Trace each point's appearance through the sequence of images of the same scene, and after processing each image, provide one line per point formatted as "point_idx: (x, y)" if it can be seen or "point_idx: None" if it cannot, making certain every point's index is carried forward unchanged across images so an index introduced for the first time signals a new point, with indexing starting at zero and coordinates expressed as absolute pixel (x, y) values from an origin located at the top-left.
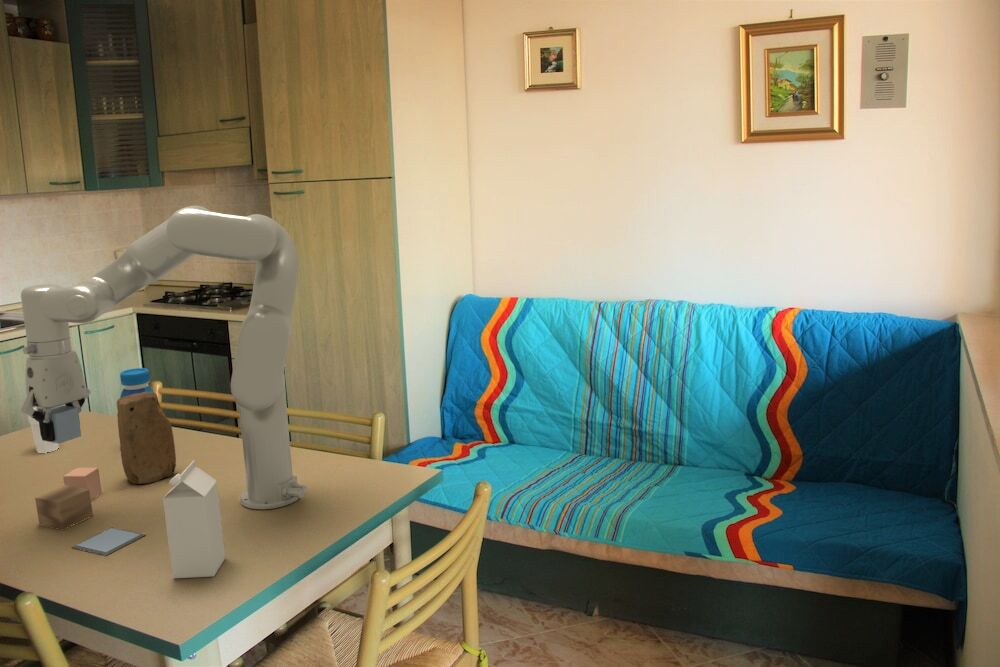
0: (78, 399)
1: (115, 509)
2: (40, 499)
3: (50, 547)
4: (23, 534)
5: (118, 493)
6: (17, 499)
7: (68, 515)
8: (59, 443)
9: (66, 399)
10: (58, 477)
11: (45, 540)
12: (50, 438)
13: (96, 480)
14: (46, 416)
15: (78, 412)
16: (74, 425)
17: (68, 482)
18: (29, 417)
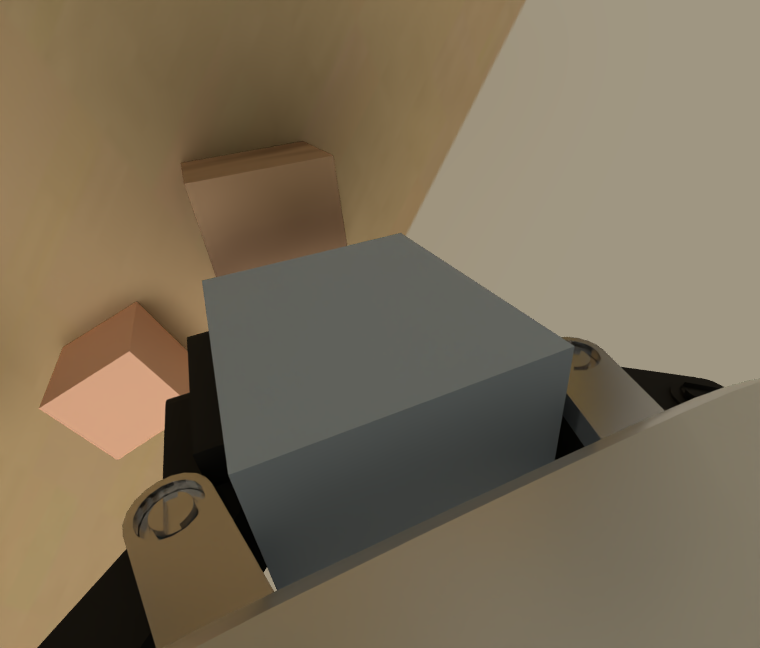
0: (204, 632)
1: (82, 143)
2: None
3: (392, 40)
4: (377, 221)
5: (4, 296)
6: None
7: (286, 151)
8: (400, 233)
9: (558, 552)
10: None
11: (371, 115)
12: None
13: (71, 366)
14: (607, 375)
15: (180, 477)
16: (276, 316)
17: (183, 383)
18: None
